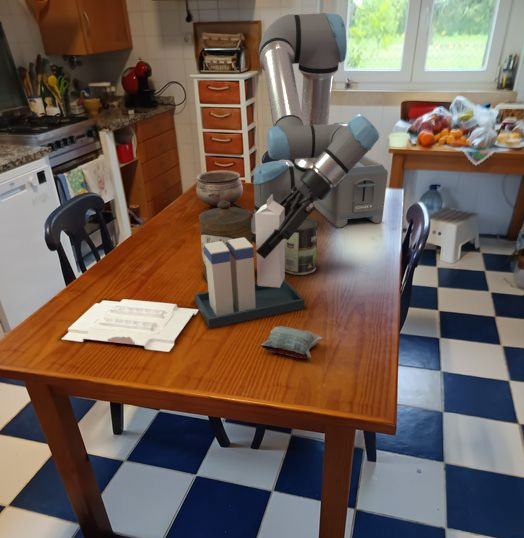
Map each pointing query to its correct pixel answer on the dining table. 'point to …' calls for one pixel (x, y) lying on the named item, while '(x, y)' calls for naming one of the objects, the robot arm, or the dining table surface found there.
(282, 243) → the milk
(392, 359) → the dining table surface
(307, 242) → the coffee can
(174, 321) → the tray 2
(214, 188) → the cooking pot
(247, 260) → the carton
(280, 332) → the packaged food
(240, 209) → the wooden container
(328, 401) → the dining table surface
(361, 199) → the toaster
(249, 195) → the dining table surface
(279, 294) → the tray
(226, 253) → the carton
